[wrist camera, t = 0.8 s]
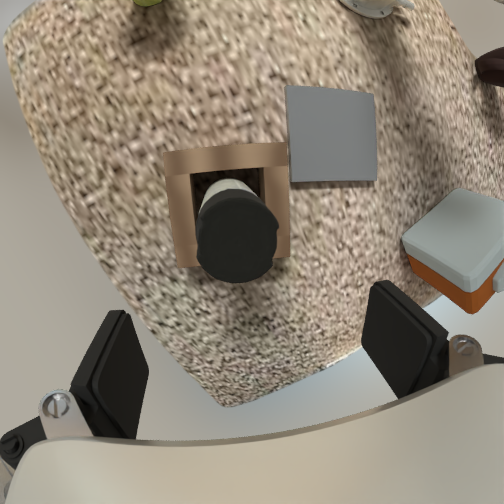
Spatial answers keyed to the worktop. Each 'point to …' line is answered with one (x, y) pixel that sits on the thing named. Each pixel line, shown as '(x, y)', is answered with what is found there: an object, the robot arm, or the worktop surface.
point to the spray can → (235, 232)
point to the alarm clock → (460, 248)
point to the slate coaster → (330, 134)
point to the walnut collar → (225, 158)
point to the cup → (491, 67)
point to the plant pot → (146, 2)
